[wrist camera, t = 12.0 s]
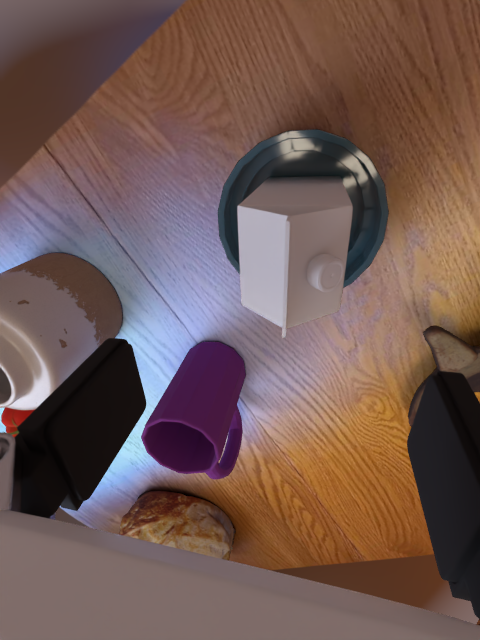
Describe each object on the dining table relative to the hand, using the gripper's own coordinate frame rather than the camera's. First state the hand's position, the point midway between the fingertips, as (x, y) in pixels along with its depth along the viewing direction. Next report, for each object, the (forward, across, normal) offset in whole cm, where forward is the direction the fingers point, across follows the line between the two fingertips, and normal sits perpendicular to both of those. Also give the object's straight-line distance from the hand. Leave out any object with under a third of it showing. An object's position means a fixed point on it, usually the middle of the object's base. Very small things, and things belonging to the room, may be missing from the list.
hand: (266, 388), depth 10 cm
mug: (+28, +10, +26) cm, 40 cm away
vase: (+28, +32, +14) cm, 45 cm away
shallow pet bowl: (+29, 0, +1) cm, 29 cm away
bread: (+28, +22, +69) cm, 77 cm away
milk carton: (+28, 0, +1) cm, 28 cm away
